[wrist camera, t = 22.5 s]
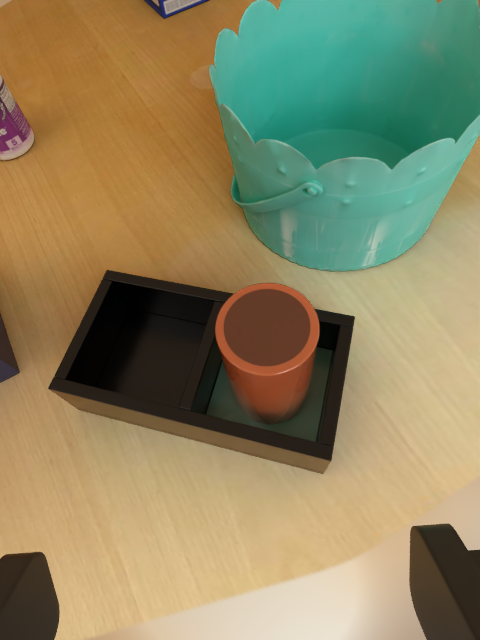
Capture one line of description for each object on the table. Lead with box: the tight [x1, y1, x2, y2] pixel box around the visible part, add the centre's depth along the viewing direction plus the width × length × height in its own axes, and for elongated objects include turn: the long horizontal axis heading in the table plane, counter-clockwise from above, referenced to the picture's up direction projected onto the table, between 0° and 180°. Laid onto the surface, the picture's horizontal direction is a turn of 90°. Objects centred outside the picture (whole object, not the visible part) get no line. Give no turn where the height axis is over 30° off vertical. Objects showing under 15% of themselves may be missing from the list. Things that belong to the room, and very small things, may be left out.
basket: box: [209, 0, 480, 271], centre depth 32 cm, size 19×18×13 cm
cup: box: [215, 283, 320, 424], centre depth 25 cm, size 5×5×9 cm
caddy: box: [48, 270, 355, 474], centre depth 28 cm, size 9×17×5 cm, turn 75°
